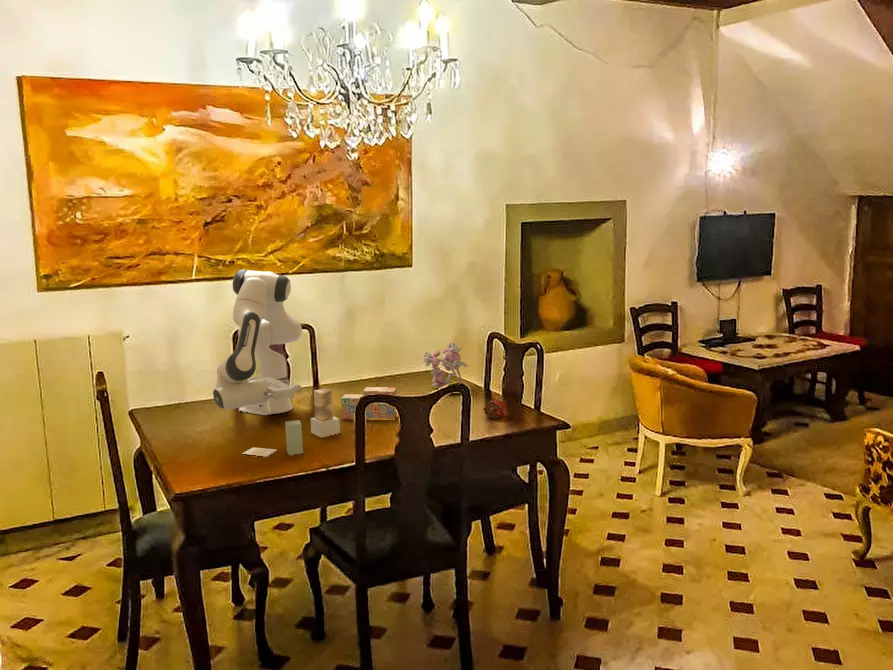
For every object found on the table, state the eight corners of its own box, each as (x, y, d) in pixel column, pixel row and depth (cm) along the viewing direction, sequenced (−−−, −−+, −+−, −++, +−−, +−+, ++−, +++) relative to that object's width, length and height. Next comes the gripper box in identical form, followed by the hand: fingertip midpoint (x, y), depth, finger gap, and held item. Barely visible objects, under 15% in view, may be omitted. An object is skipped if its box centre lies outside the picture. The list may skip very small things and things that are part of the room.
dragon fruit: (494, 426, 335) (492, 421, 347) (512, 412, 335) (509, 409, 347) (481, 409, 335) (479, 405, 347) (498, 395, 335) (496, 392, 347)
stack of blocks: (342, 420, 344) (340, 390, 342) (345, 416, 350) (344, 386, 348) (394, 421, 341) (393, 391, 339) (397, 416, 347) (396, 387, 345)
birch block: (321, 421, 323) (319, 393, 320) (315, 418, 327) (313, 390, 324) (333, 418, 325) (331, 390, 323) (327, 415, 329) (325, 388, 327)
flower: (479, 381, 394) (454, 333, 392) (483, 388, 371) (456, 337, 369) (441, 401, 394) (415, 353, 392) (441, 410, 372) (414, 359, 370)
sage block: (287, 451, 307) (285, 421, 305) (301, 449, 309) (299, 420, 307) (288, 455, 303) (287, 425, 301) (303, 453, 304) (301, 423, 302)
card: (242, 455, 305) (242, 452, 304) (252, 448, 311) (252, 446, 311) (266, 457, 301) (266, 455, 301) (277, 451, 308) (276, 449, 308)
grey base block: (321, 438, 322) (320, 422, 321) (311, 433, 328) (310, 418, 327) (340, 433, 326) (339, 418, 325) (329, 429, 333) (329, 414, 332)
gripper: (270, 388, 300) (306, 381, 308) (247, 377, 316) (282, 371, 324) (272, 406, 301) (307, 398, 309) (248, 393, 318) (283, 387, 326)
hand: (294, 384), depth 317 cm, fingers open, 8 cm apart
